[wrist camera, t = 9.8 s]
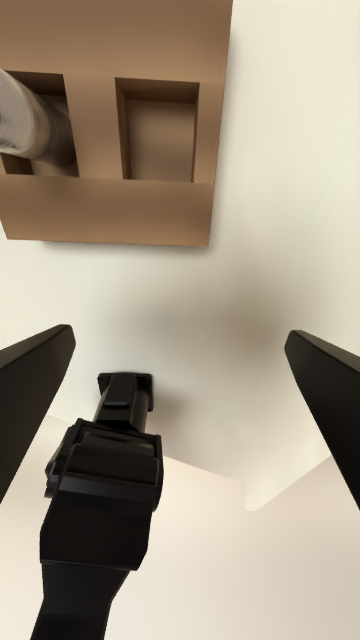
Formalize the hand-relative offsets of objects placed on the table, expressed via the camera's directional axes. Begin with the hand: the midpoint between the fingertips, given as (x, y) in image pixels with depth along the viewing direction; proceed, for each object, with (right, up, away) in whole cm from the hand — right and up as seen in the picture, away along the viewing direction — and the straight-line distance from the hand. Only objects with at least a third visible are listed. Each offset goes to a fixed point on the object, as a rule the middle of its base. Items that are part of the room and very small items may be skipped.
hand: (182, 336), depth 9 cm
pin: (-8, +13, +6) cm, 16 cm away
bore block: (-5, +13, +6) cm, 15 cm away
